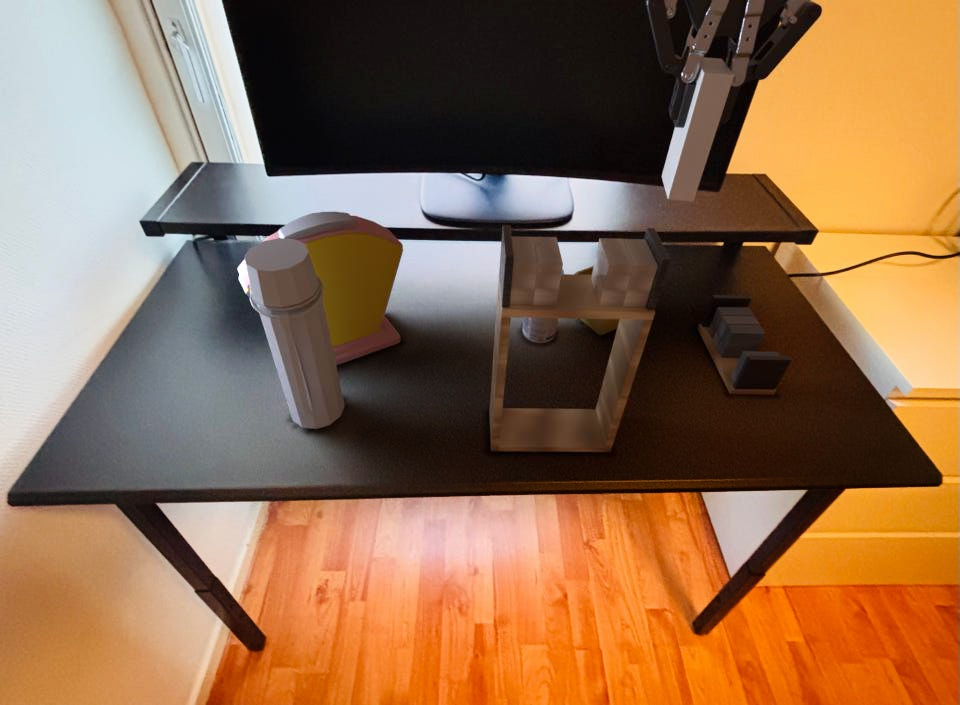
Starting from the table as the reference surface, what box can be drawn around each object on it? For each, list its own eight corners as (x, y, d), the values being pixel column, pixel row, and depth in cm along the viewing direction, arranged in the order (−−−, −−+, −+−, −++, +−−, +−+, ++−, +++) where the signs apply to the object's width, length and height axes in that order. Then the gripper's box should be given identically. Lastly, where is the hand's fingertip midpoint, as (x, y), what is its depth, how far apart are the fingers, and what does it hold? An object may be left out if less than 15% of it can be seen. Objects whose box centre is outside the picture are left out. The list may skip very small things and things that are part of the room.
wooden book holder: (637, 283, 59) (653, 226, 55) (653, 320, 55) (672, 261, 50) (498, 280, 59) (502, 223, 54) (501, 317, 54) (505, 258, 49)
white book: (685, 178, 54) (721, 58, 47) (693, 201, 50) (734, 74, 43) (661, 176, 54) (694, 56, 47) (667, 199, 50) (704, 72, 43)
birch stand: (601, 413, 74) (637, 283, 59) (610, 452, 69) (653, 320, 55) (489, 412, 74) (498, 280, 59) (490, 451, 69) (501, 317, 54)
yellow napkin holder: (392, 307, 90) (380, 187, 76) (417, 338, 85) (409, 214, 70) (260, 350, 81) (218, 223, 67) (277, 388, 76) (236, 257, 61)
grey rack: (774, 394, 78) (794, 359, 73) (729, 394, 78) (747, 359, 73) (736, 329, 89) (751, 295, 85) (697, 328, 89) (710, 294, 84)
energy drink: (555, 324, 88) (565, 263, 80) (554, 345, 85) (565, 283, 76) (523, 321, 89) (530, 259, 81) (521, 342, 85) (528, 279, 77)
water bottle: (291, 395, 75) (243, 237, 58) (348, 389, 76) (318, 233, 59) (284, 447, 68) (228, 286, 51) (347, 440, 69) (312, 281, 52)
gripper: (856, -127, 39) (763, 118, 51) (662, -136, 40) (615, 106, 52) (901, -128, 33) (786, 148, 45) (675, -137, 34) (619, 134, 46)
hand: (695, 125), depth 48 cm, fingers closed on white book, 2 cm apart
